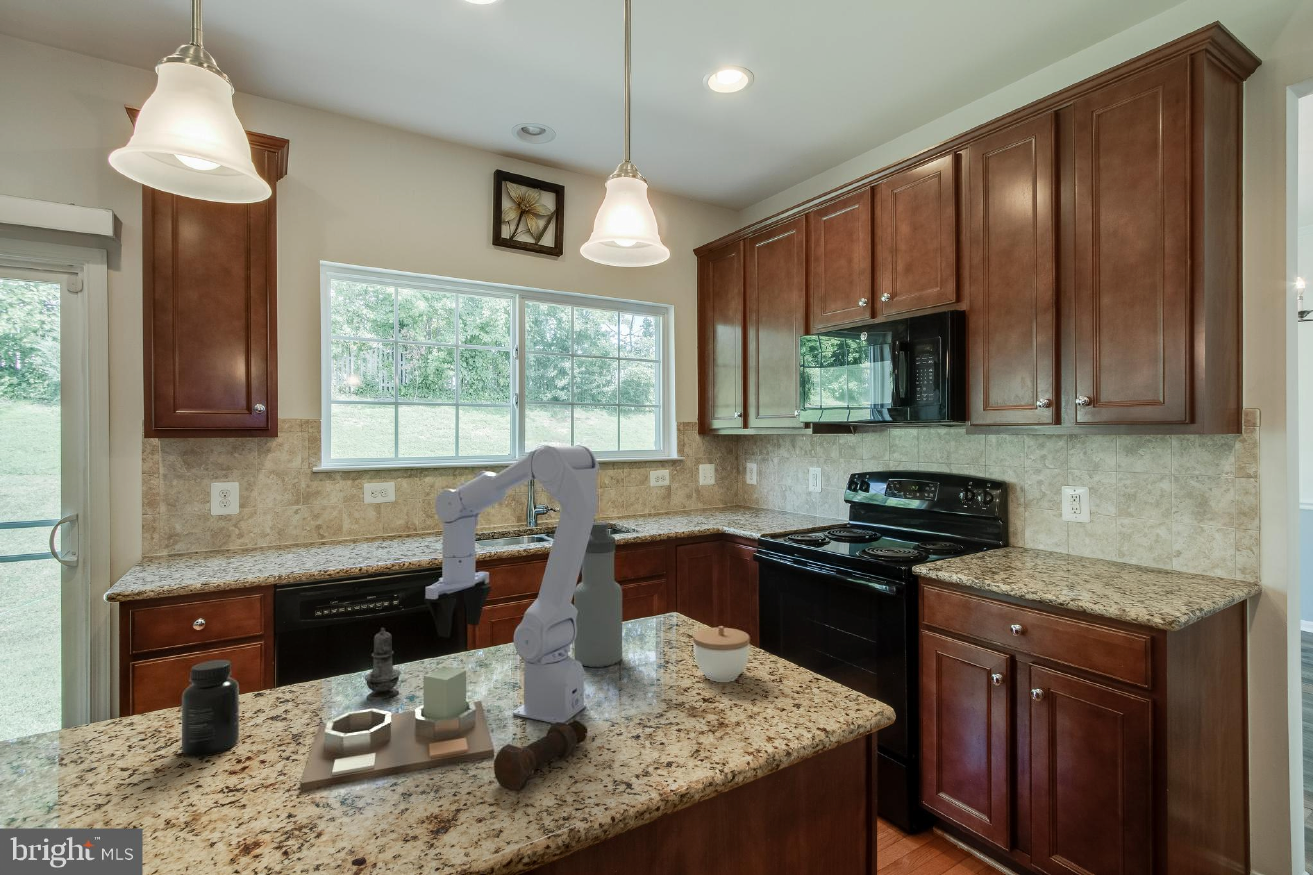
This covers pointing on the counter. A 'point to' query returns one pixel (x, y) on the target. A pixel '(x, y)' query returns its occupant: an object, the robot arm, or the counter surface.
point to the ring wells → (389, 728)
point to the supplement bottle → (210, 710)
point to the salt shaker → (382, 670)
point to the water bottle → (598, 603)
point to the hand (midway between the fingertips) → (459, 630)
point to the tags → (369, 759)
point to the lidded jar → (721, 652)
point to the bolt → (537, 754)
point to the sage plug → (444, 693)
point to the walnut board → (395, 752)
